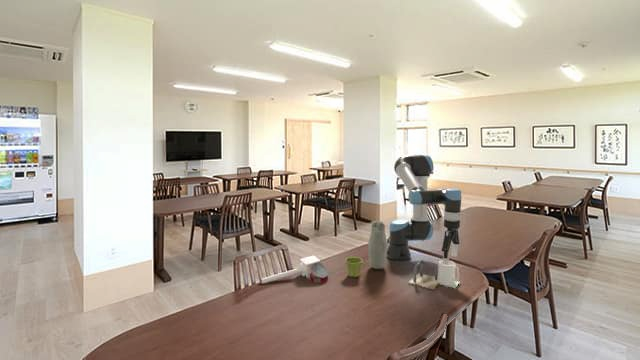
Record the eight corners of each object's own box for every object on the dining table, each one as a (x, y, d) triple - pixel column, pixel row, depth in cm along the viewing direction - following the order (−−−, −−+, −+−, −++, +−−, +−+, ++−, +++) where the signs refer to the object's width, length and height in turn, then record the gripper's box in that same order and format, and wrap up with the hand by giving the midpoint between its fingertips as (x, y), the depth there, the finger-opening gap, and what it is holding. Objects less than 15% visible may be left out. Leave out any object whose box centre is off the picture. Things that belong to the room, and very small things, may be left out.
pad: (439, 285, 173) (439, 283, 173) (444, 280, 179) (444, 278, 179) (455, 289, 168) (455, 287, 168) (460, 283, 174) (460, 281, 174)
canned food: (323, 284, 187) (332, 268, 187) (324, 290, 177) (333, 273, 177) (305, 275, 186) (313, 259, 186) (305, 280, 176) (313, 263, 176)
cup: (452, 289, 166) (453, 269, 165) (434, 280, 176) (435, 261, 175) (464, 286, 169) (465, 266, 168) (445, 277, 180) (446, 259, 179)
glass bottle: (365, 268, 196) (365, 221, 193) (375, 263, 204) (375, 218, 200) (379, 273, 189) (380, 224, 186) (389, 267, 197) (390, 221, 194)
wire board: (408, 283, 175) (408, 281, 175) (418, 274, 186) (418, 273, 186) (433, 290, 167) (433, 288, 167) (442, 280, 178) (442, 278, 178)
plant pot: (351, 279, 181) (351, 264, 180) (342, 273, 189) (342, 258, 188) (365, 276, 185) (365, 261, 184) (356, 270, 193) (356, 256, 192)
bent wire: (412, 281, 175) (413, 265, 174) (420, 275, 184) (420, 259, 183) (430, 286, 170) (431, 269, 169) (437, 279, 178) (438, 263, 177)
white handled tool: (320, 260, 184) (262, 276, 172) (322, 275, 185) (265, 292, 174) (314, 255, 192) (258, 270, 181) (315, 269, 194) (261, 285, 182)
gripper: (452, 226, 158) (449, 269, 160) (466, 215, 177) (464, 254, 180) (436, 223, 162) (434, 265, 165) (452, 213, 182) (450, 251, 185)
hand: (450, 259), depth 173 cm, fingers open, 13 cm apart
